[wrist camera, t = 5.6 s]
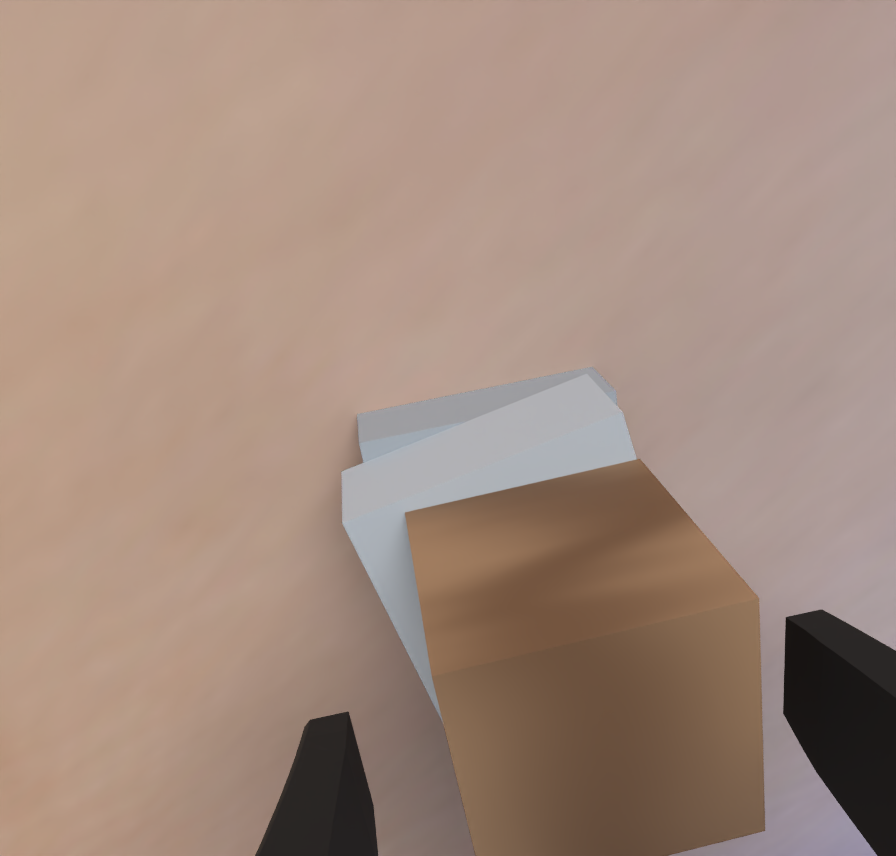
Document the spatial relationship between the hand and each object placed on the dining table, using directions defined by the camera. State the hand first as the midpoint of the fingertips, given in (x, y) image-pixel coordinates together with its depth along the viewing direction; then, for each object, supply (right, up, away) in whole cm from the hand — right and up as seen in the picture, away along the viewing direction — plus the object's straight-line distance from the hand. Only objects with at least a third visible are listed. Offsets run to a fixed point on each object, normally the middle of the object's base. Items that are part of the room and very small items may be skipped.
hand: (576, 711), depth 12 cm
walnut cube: (0, +1, +3) cm, 3 cm away
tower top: (-1, +2, +5) cm, 5 cm away
